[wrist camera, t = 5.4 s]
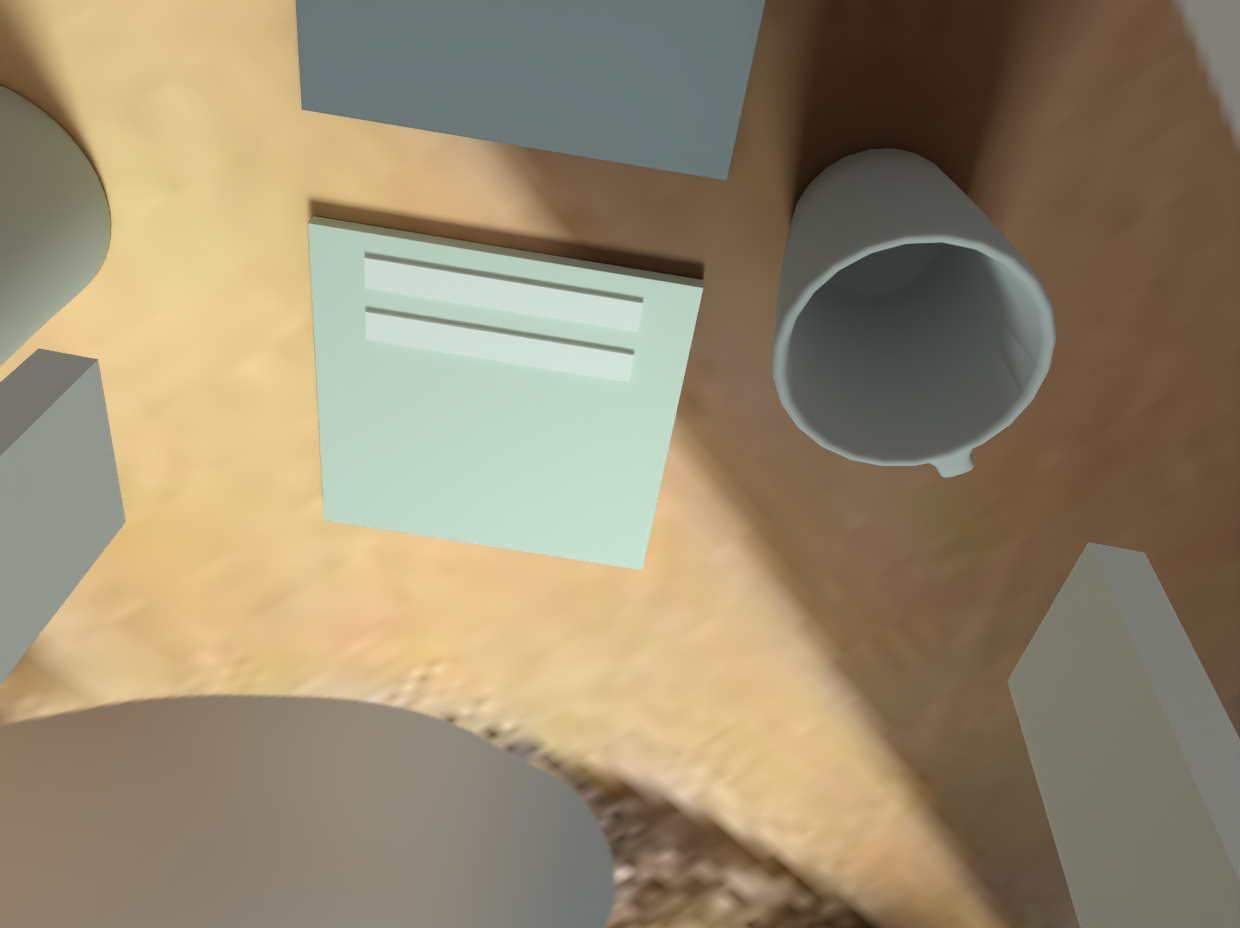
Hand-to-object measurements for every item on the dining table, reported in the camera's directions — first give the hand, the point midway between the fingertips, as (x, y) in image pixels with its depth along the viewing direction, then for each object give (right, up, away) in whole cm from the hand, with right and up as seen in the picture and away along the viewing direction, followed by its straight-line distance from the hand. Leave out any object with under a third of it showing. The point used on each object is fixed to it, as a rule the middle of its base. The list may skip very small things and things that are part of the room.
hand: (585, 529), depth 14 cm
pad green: (-4, +3, +26) cm, 27 cm away
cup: (+10, +8, +21) cm, 25 cm away
